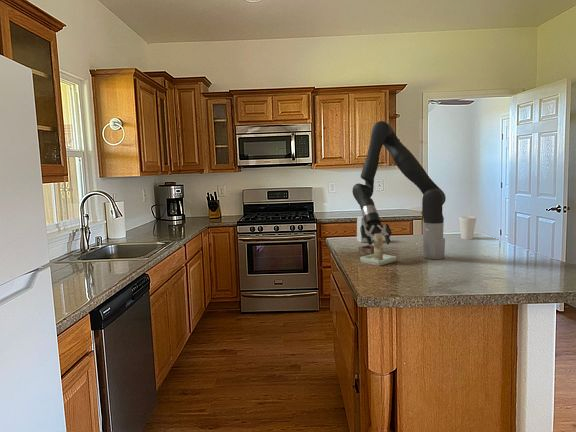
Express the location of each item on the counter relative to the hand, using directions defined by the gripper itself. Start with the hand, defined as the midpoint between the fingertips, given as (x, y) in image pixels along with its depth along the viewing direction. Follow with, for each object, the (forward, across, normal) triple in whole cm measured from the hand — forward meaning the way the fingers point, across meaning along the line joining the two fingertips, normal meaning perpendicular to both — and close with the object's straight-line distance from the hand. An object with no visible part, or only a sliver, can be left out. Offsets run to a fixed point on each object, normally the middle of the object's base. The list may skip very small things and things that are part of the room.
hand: (379, 243), depth 188 cm
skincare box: (-30, +12, +42) cm, 53 cm away
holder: (-6, +2, +19) cm, 20 cm away
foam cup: (-25, +74, +37) cm, 86 cm away
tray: (+5, 0, +7) cm, 9 cm away
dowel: (+4, 0, +6) cm, 8 cm away
